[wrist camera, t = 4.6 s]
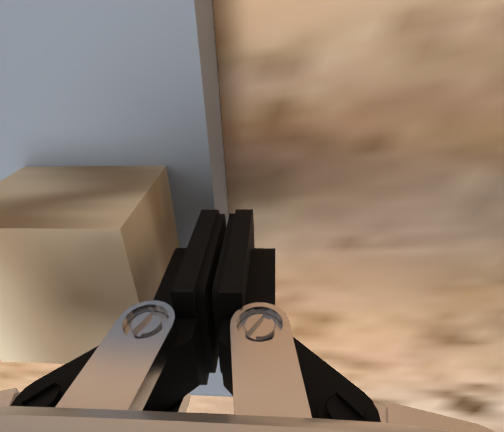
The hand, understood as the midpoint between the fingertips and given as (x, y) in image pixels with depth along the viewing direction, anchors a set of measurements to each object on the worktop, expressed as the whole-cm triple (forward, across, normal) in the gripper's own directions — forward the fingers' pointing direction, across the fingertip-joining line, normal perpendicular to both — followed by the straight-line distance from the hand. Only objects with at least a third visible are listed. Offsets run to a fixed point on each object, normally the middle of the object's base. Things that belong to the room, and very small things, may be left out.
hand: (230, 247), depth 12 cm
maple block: (+1, +5, 0) cm, 5 cm away
